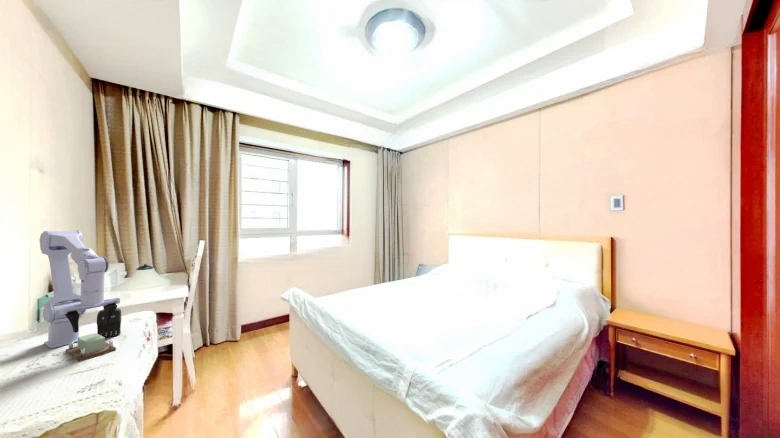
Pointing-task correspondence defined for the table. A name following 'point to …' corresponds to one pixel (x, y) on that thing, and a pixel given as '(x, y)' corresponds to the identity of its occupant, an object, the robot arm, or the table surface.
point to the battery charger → (113, 325)
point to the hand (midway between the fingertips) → (91, 327)
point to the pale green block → (91, 343)
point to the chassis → (82, 355)
